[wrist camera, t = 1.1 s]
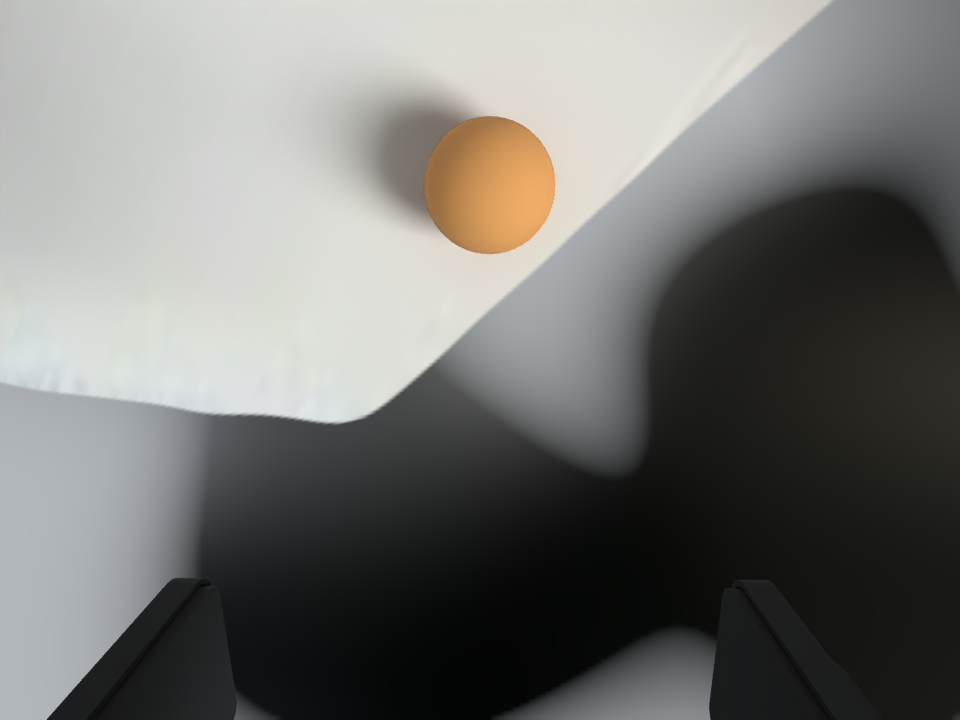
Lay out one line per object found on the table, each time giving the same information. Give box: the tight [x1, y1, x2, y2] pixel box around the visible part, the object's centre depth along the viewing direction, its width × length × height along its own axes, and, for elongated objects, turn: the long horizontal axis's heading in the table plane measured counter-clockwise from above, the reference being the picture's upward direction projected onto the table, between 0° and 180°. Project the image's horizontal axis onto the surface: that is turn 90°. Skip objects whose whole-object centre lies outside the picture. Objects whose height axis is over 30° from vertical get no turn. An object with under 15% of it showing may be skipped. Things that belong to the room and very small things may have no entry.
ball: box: [424, 116, 555, 254], centre depth 25 cm, size 6×6×6 cm
